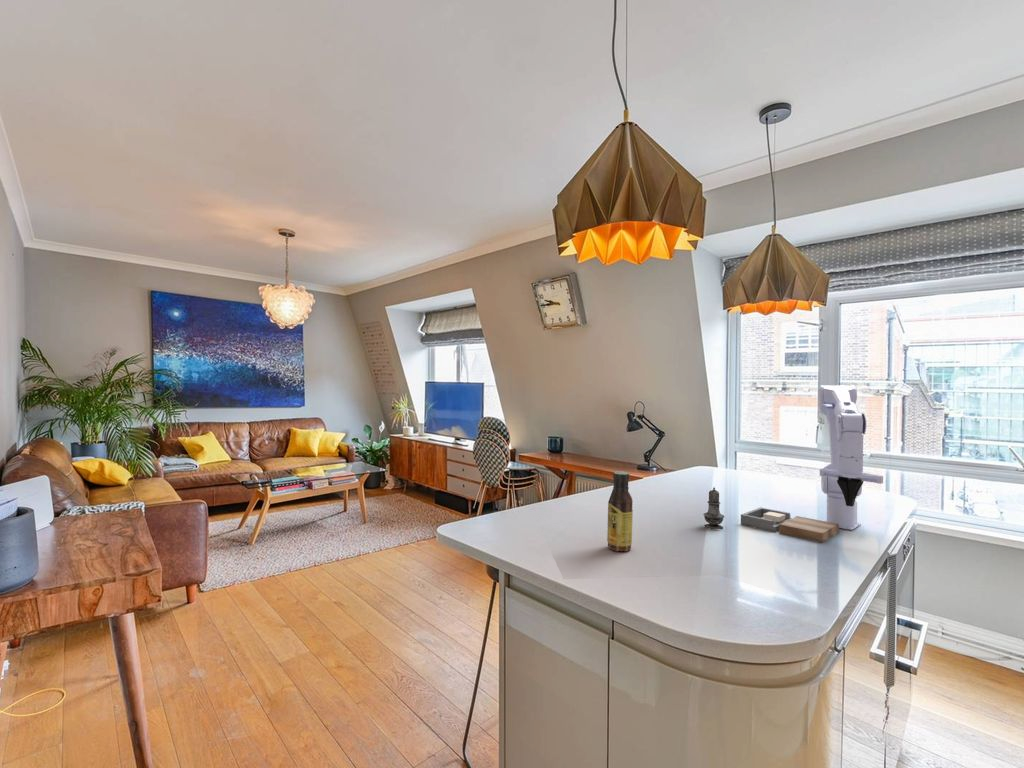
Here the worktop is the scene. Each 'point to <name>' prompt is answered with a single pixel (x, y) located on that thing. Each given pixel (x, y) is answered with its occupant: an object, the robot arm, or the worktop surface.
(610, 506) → the sauce bottle
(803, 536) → the walnut board
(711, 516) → the salt shaker
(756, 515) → the tray
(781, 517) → the cream tile
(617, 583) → the worktop surface
